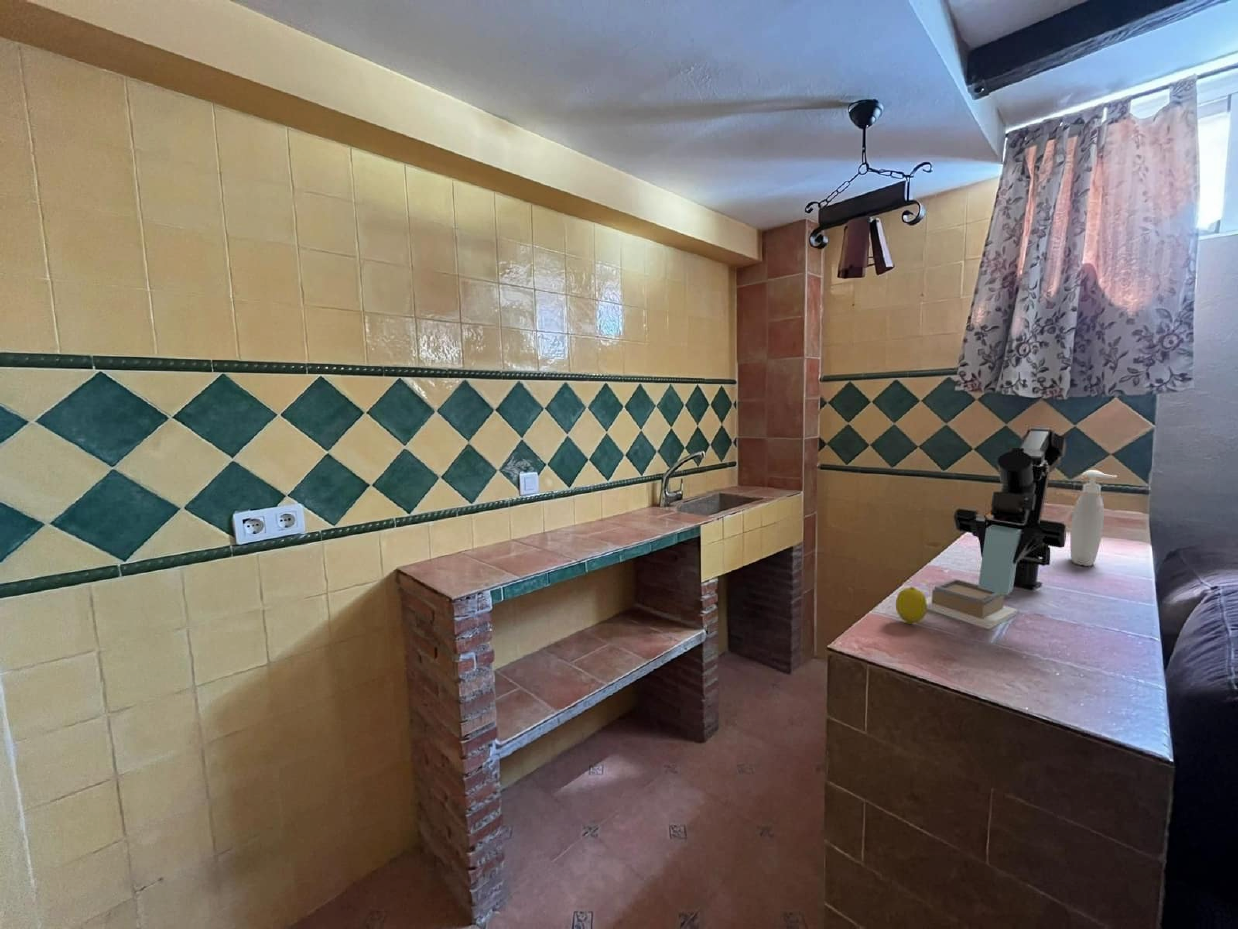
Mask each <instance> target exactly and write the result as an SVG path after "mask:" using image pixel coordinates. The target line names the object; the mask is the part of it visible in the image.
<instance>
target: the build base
mask: <svg viewBox="0 0 1238 929" xmlns="http://www.w3.org/2000/svg"><path fill="white" fill-rule="evenodd" d="M978 585H979V584H975V583H973V582H968V581H965V580H961V579H957V578H954V579H951V580H948V581H945V582H943V583H940V584H938V585H936V586H934V589H932V592H931V593H932V594H931V595H930V596H928V597H925V599H926V604H927V610H929V611H931V612H935V613H938V614H941V615H945V616H947V617H950V618H953V619H956V620H959V621H963V622H965V623H968V624H971V625H974V626H976V627H979V628H983V629H985V630H991V629H992V628H994V627H997V626H998V625H1000V624H1001V623H1003V622H1005V621H1007V620H1009V619H1011V618H1013V617H1014V616H1016V615H1017V614H1018V609H1017V608H1013V607H1010V606H1008V605H1004V600H1005V595H1003V594H1000V593H996V592H992V591H988V590H984V589H980V588H978Z"/></svg>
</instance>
